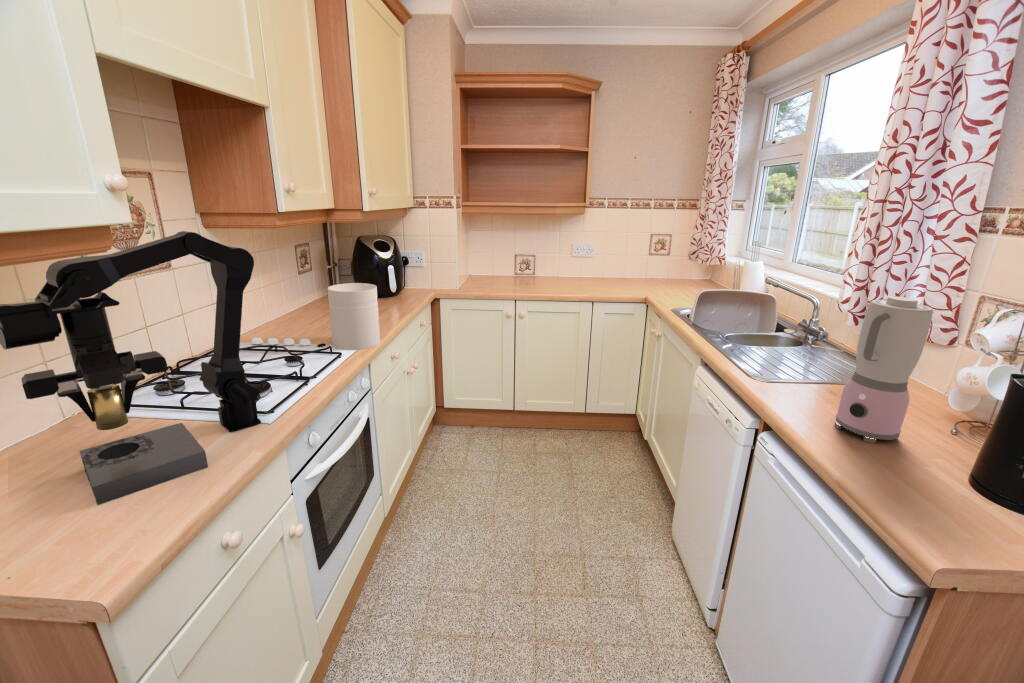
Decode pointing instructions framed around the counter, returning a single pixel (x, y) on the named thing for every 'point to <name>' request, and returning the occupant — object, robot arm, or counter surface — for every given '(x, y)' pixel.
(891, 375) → the blender
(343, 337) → the canister
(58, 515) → the counter surface
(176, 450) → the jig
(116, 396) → the bushing
